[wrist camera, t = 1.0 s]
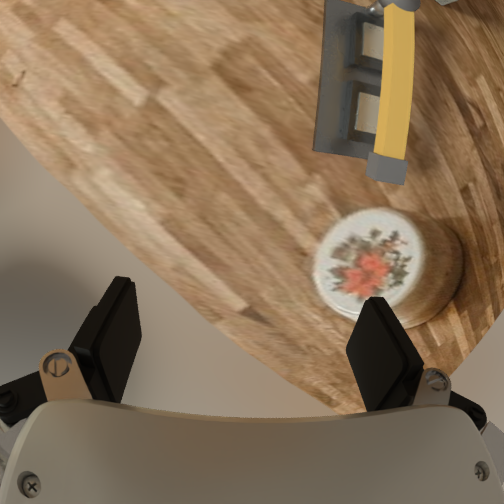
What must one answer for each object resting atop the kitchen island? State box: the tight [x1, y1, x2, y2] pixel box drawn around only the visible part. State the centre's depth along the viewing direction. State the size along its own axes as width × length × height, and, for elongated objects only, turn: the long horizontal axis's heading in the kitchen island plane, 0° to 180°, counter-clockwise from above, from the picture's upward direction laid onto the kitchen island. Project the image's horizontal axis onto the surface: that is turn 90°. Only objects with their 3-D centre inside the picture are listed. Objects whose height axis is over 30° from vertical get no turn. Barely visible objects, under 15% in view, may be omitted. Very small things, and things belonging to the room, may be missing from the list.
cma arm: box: [365, 0, 420, 185], centre depth 21 cm, size 22×4×2 cm, turn 175°
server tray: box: [312, 0, 384, 159], centre depth 25 cm, size 20×11×7 cm, turn 175°
